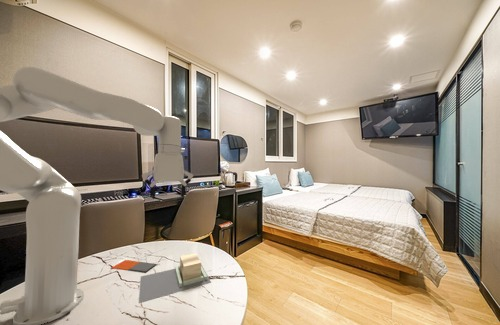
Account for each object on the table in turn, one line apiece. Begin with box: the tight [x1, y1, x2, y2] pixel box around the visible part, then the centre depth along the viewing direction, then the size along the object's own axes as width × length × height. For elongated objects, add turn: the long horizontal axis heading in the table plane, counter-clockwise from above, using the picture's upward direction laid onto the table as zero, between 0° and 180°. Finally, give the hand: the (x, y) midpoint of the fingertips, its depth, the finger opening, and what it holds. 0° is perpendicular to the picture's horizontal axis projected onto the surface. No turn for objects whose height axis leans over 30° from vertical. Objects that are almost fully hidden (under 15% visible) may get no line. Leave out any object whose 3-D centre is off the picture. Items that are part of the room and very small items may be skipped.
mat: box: [138, 264, 212, 304], centre depth 62 cm, size 20×14×2 cm
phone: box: [110, 259, 158, 274], centre depth 69 cm, size 6×1×15 cm
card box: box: [179, 252, 202, 281], centre depth 65 cm, size 8×6×5 cm
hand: (168, 197), depth 68 cm, fingers open, 9 cm apart
